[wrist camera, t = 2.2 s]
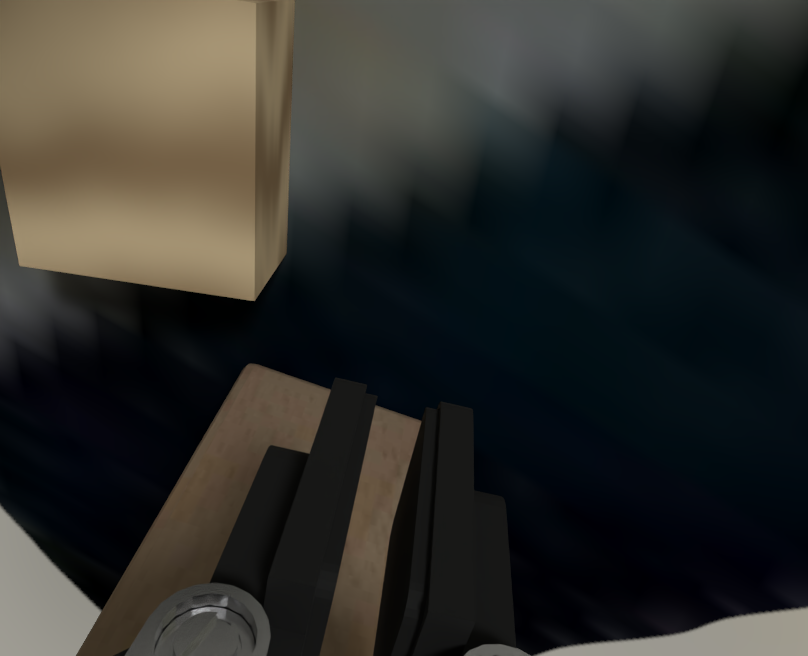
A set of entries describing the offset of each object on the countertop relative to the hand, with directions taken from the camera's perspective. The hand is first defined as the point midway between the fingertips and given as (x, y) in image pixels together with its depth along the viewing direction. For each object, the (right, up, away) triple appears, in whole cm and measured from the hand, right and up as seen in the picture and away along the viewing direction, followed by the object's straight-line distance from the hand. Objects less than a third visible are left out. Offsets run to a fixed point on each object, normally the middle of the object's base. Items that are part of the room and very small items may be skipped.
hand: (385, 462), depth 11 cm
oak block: (-9, +11, +15) cm, 20 cm away
